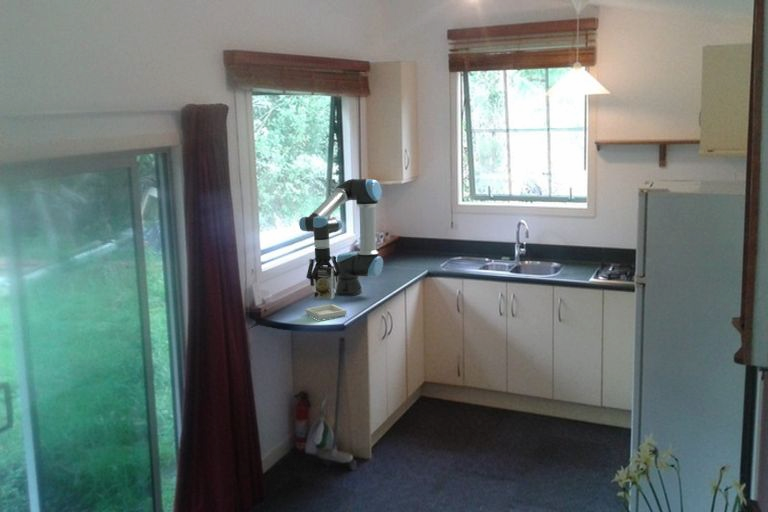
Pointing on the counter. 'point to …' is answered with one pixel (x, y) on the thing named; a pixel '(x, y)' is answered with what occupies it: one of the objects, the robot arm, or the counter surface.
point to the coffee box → (324, 283)
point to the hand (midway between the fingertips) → (324, 290)
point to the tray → (325, 312)
